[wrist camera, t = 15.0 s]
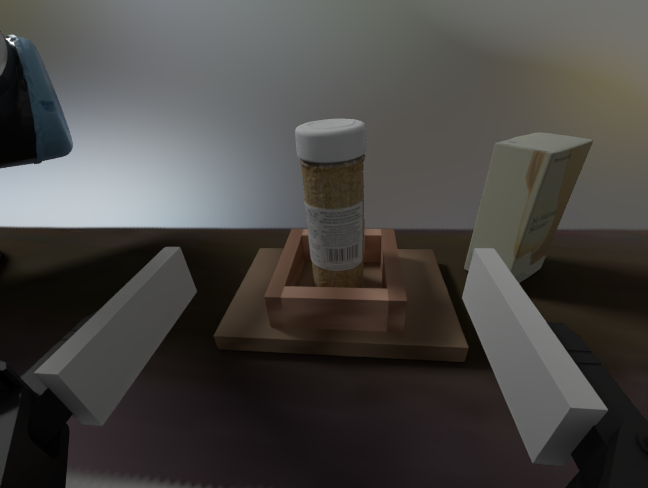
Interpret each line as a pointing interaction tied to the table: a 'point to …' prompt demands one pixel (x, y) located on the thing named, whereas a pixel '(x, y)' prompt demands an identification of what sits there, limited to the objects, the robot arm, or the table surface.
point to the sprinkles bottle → (334, 199)
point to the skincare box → (527, 198)
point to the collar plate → (345, 306)
